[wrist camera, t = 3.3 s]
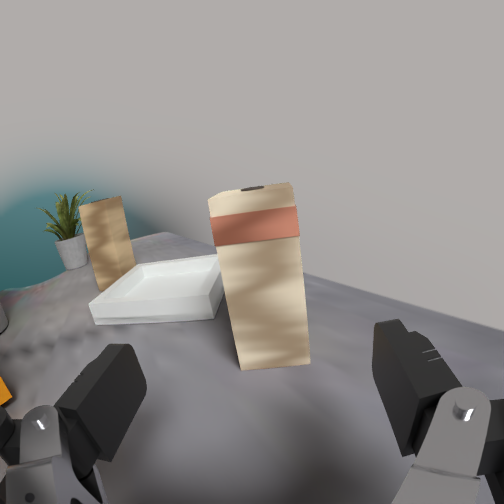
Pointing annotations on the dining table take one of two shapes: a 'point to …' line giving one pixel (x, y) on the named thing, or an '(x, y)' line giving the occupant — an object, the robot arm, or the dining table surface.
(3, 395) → the bracket
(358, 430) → the dining table surface
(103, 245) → the oak post
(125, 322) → the tray
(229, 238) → the maple post
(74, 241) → the house plant
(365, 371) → the dining table surface
